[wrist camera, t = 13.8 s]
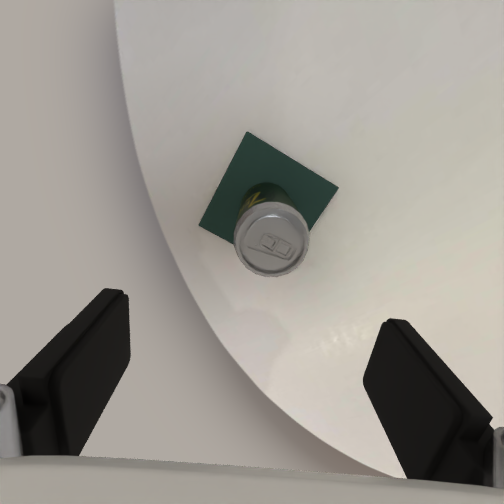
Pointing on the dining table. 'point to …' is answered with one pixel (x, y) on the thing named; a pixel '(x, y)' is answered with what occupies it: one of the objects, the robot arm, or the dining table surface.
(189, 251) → the dining table surface
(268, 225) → the beer can
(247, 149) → the front mat
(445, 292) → the dining table surface
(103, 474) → the robot arm
